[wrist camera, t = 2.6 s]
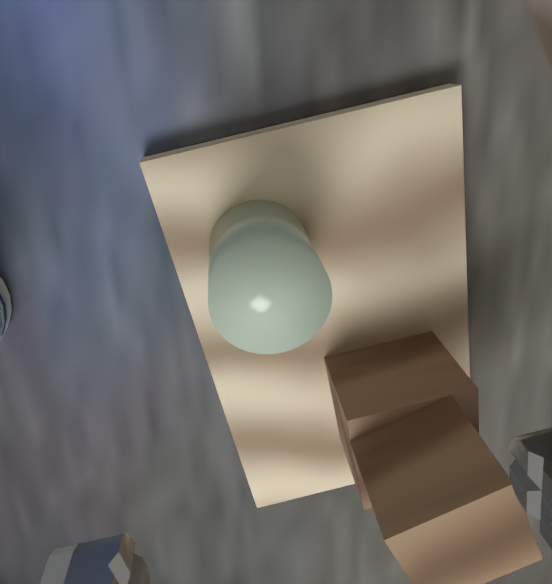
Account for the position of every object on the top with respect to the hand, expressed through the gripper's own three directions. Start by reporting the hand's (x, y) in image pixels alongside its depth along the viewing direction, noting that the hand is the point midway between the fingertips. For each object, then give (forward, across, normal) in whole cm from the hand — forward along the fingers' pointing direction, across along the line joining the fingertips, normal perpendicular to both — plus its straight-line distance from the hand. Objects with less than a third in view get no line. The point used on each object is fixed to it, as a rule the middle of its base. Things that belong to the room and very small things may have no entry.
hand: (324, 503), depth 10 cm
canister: (+14, 0, -1) cm, 14 cm away
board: (+15, -3, +5) cm, 17 cm away
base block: (+14, -5, +9) cm, 18 cm away
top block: (+9, -5, +10) cm, 14 cm away
